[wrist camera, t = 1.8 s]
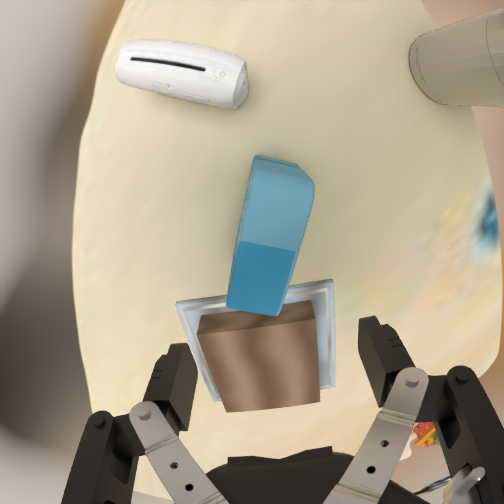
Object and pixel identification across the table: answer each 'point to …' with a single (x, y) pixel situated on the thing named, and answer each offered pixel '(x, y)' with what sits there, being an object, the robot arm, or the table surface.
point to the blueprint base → (264, 348)
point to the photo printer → (184, 71)
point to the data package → (269, 235)
